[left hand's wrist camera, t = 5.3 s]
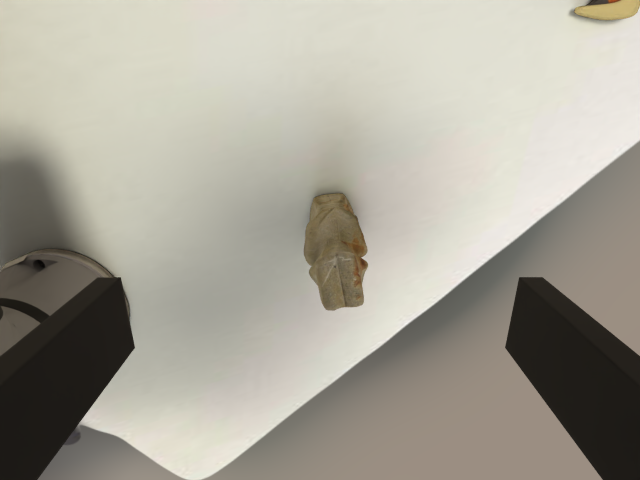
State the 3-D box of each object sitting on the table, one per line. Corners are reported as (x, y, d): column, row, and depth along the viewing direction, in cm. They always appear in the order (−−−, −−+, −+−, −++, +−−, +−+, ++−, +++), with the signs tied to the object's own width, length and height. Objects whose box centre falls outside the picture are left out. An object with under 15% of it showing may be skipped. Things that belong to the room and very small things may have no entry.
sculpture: (310, 250, 45) (305, 320, 31) (303, 190, 43) (295, 236, 29) (359, 246, 45) (377, 314, 31) (356, 185, 42) (373, 229, 28)
